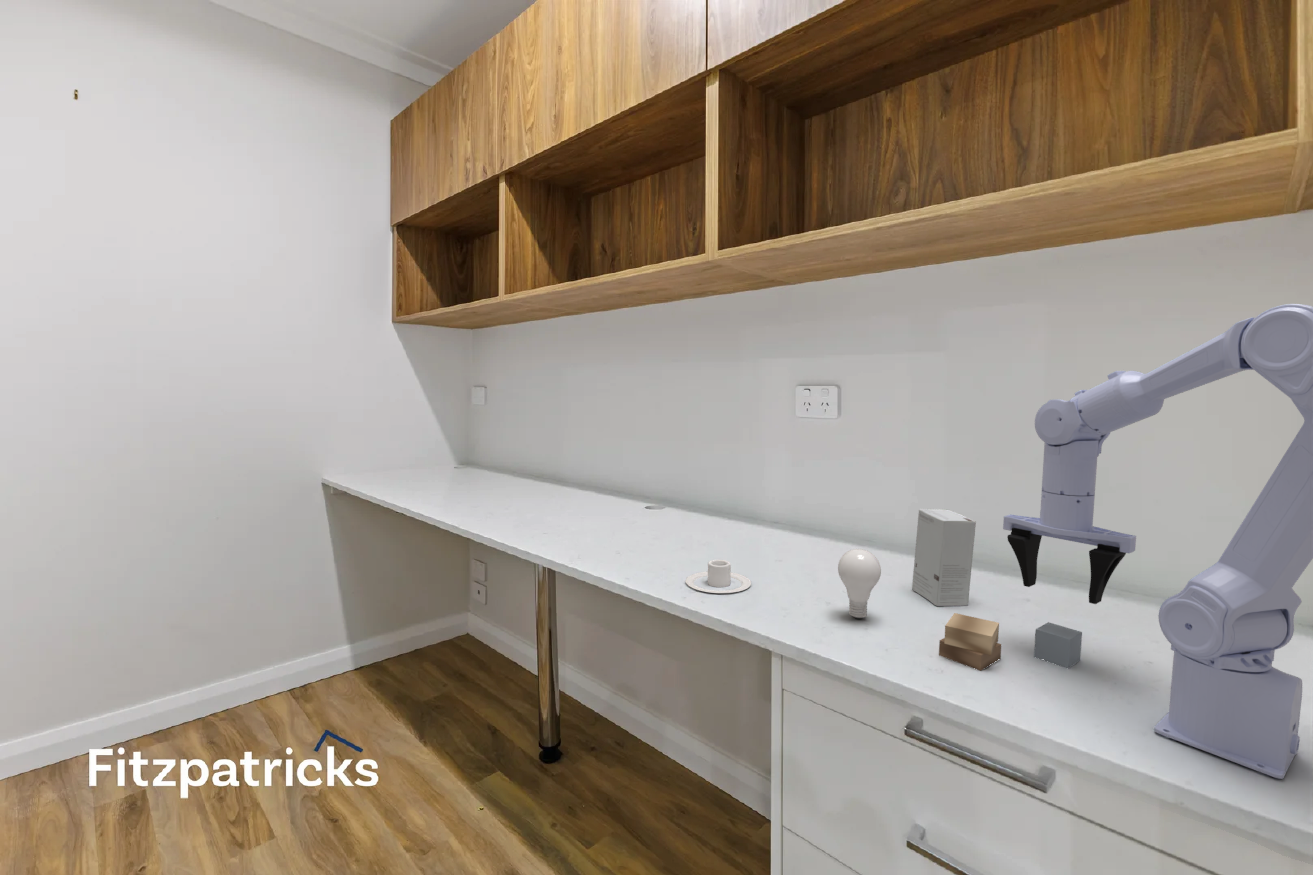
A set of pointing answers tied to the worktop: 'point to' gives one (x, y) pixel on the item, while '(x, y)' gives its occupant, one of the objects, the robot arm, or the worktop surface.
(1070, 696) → the worktop surface
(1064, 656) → the cube
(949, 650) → the lower tile
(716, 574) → the candle holder
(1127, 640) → the worktop surface
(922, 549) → the skincare box
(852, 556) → the lightbulb
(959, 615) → the upper tile
